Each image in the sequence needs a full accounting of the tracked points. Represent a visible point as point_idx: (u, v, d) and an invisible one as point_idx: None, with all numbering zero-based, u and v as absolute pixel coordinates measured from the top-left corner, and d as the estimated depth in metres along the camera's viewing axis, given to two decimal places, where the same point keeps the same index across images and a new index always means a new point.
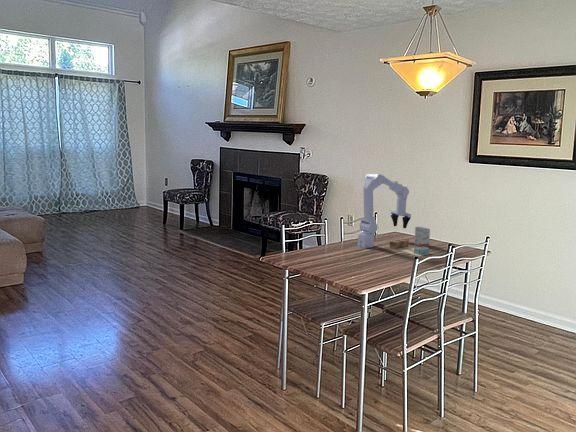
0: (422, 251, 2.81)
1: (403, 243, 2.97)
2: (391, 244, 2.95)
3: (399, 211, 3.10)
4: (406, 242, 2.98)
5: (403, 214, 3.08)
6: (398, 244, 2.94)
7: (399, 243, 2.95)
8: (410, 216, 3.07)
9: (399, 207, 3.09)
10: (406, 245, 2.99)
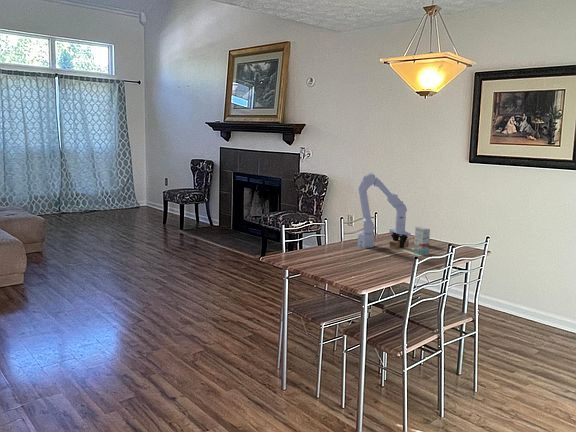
0: (422, 251, 2.81)
1: None
2: (391, 244, 2.95)
3: (398, 230, 2.94)
4: (406, 242, 2.98)
5: (402, 233, 2.92)
6: (398, 244, 2.94)
7: (399, 243, 2.95)
8: (410, 235, 2.91)
9: (398, 226, 2.93)
10: (406, 245, 2.99)
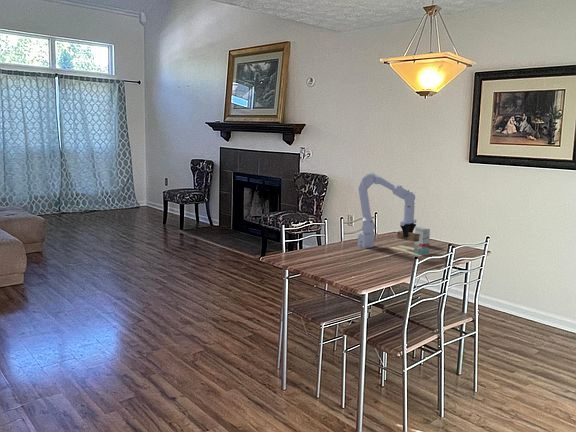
0: (422, 251, 2.81)
1: (408, 235, 2.89)
2: None
3: None
4: (412, 236, 2.87)
5: (402, 222, 2.89)
6: (401, 234, 2.92)
7: None
8: (402, 225, 2.85)
9: None
10: (412, 239, 2.88)
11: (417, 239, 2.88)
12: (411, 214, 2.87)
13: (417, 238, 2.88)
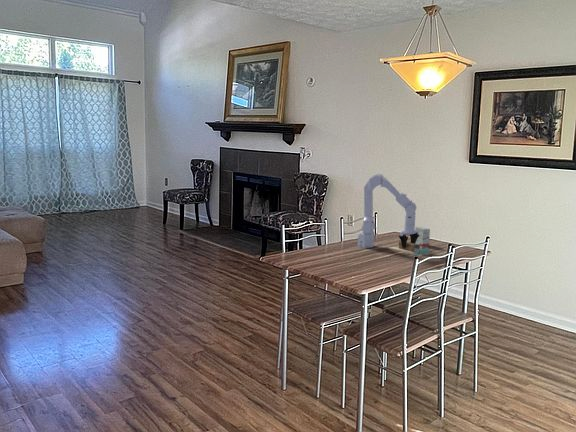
0: (422, 251, 2.81)
1: (408, 246, 2.89)
2: None
3: None
4: (412, 246, 2.87)
5: (402, 232, 2.90)
6: None
7: None
8: (401, 235, 2.86)
9: None
10: (412, 250, 2.87)
11: None
12: (411, 224, 2.87)
13: None
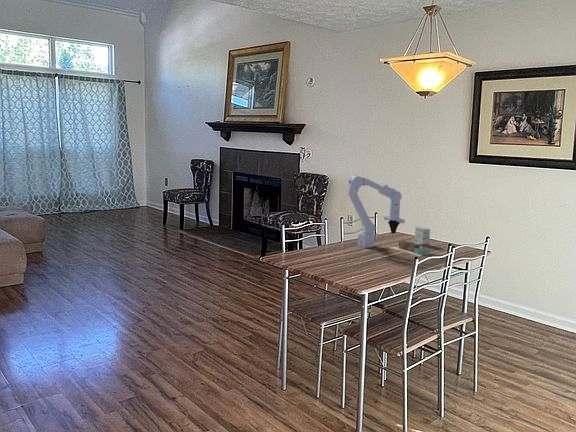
0: (422, 251, 2.81)
1: (408, 246, 2.89)
2: None
3: (392, 217, 2.96)
4: (412, 246, 2.87)
5: (396, 220, 2.95)
6: (402, 244, 2.93)
7: (404, 244, 2.92)
8: (404, 222, 2.94)
9: (392, 212, 2.96)
10: (412, 250, 2.87)
11: None
12: None
13: None
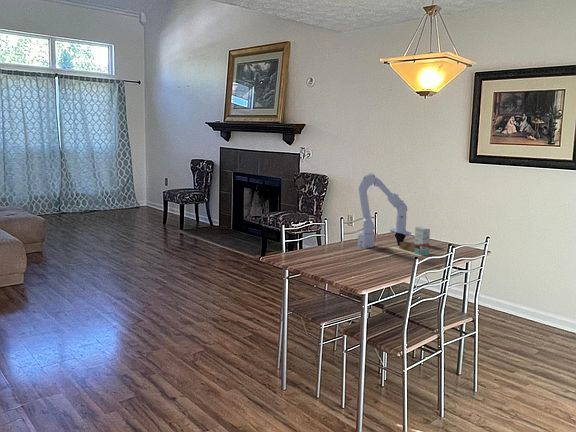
0: (422, 251, 2.81)
1: (409, 246, 2.89)
2: None
3: (399, 229, 2.93)
4: (413, 247, 2.87)
5: (403, 233, 2.92)
6: (403, 245, 2.93)
7: (404, 244, 2.92)
8: (410, 235, 2.91)
9: (399, 225, 2.93)
10: (413, 250, 2.87)
11: None
12: None
13: None
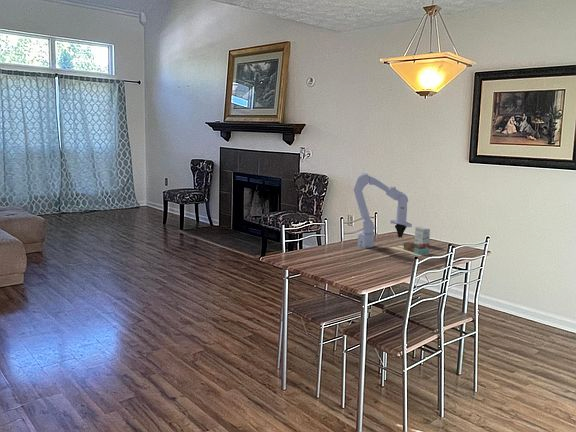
0: (422, 251, 2.81)
1: (413, 247, 2.86)
2: None
3: (399, 220, 2.92)
4: (417, 248, 2.84)
5: (403, 224, 2.91)
6: (407, 246, 2.90)
7: (409, 245, 2.89)
8: (411, 226, 2.90)
9: (399, 216, 2.92)
10: None
11: None
12: None
13: None
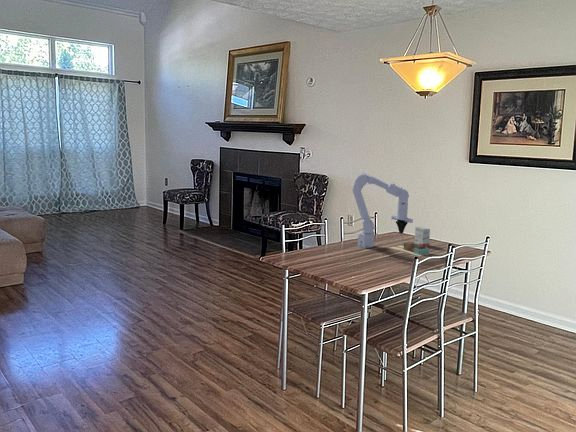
0: (422, 251, 2.81)
1: (413, 247, 2.86)
2: None
3: (400, 216, 2.92)
4: (417, 248, 2.84)
5: (404, 219, 2.90)
6: (407, 246, 2.90)
7: (409, 245, 2.89)
8: (412, 221, 2.89)
9: (400, 212, 2.91)
10: None
11: None
12: None
13: None
